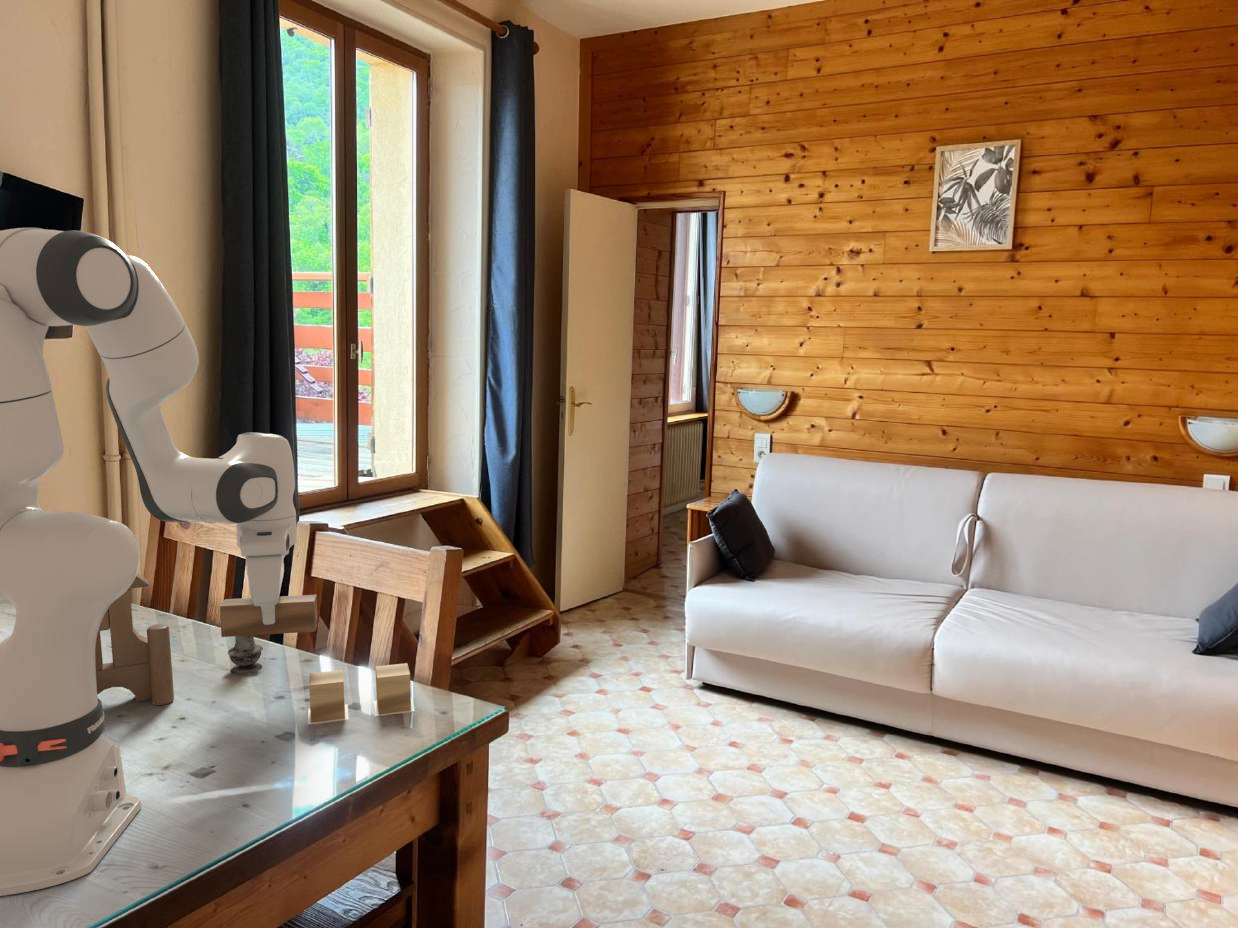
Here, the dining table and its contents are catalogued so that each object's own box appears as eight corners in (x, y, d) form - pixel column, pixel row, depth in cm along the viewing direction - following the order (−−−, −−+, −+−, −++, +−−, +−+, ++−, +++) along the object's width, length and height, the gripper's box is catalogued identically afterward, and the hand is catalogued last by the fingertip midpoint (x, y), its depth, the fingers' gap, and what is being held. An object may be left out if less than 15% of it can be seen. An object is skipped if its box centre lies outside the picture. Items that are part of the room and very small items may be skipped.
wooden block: (315, 631, 142) (314, 601, 142) (221, 637, 139) (219, 606, 139) (317, 624, 146) (316, 594, 146) (226, 629, 143) (224, 599, 142)
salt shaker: (269, 668, 159) (266, 604, 158) (237, 677, 155) (233, 611, 153) (255, 660, 163) (251, 597, 161) (222, 669, 159) (218, 604, 157)
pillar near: (345, 718, 137) (343, 681, 136) (311, 722, 136) (309, 685, 135) (344, 705, 142) (343, 669, 141) (311, 709, 140) (309, 673, 140)
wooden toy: (63, 723, 137) (48, 566, 133) (65, 707, 142) (51, 556, 139) (174, 703, 144) (164, 553, 141) (172, 689, 150) (161, 545, 146)
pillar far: (411, 710, 140) (409, 674, 139) (378, 714, 139) (377, 677, 138) (408, 698, 145) (407, 662, 144) (376, 701, 143) (375, 666, 143)
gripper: (251, 522, 150) (254, 602, 151) (239, 548, 130) (243, 639, 132) (290, 521, 152) (293, 599, 153) (285, 545, 132) (288, 635, 134)
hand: (270, 618), depth 142 cm, fingers closed on wooden block, 4 cm apart
